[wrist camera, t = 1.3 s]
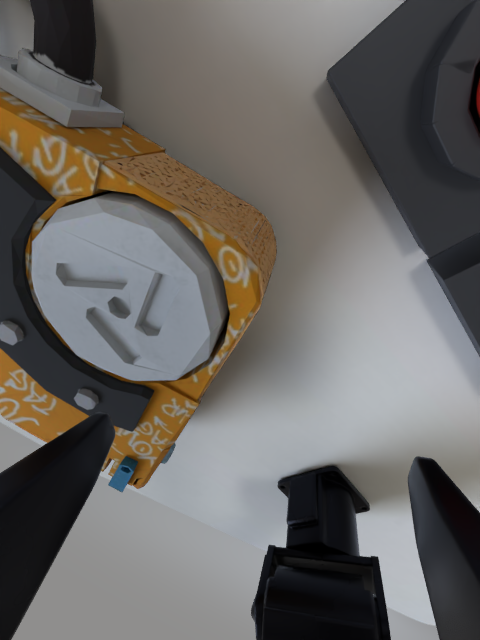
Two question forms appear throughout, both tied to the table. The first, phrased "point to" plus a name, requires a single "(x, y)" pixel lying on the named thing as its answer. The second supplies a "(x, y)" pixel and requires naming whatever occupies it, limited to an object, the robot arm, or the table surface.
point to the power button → (478, 98)
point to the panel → (462, 283)
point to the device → (110, 259)
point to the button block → (421, 114)
